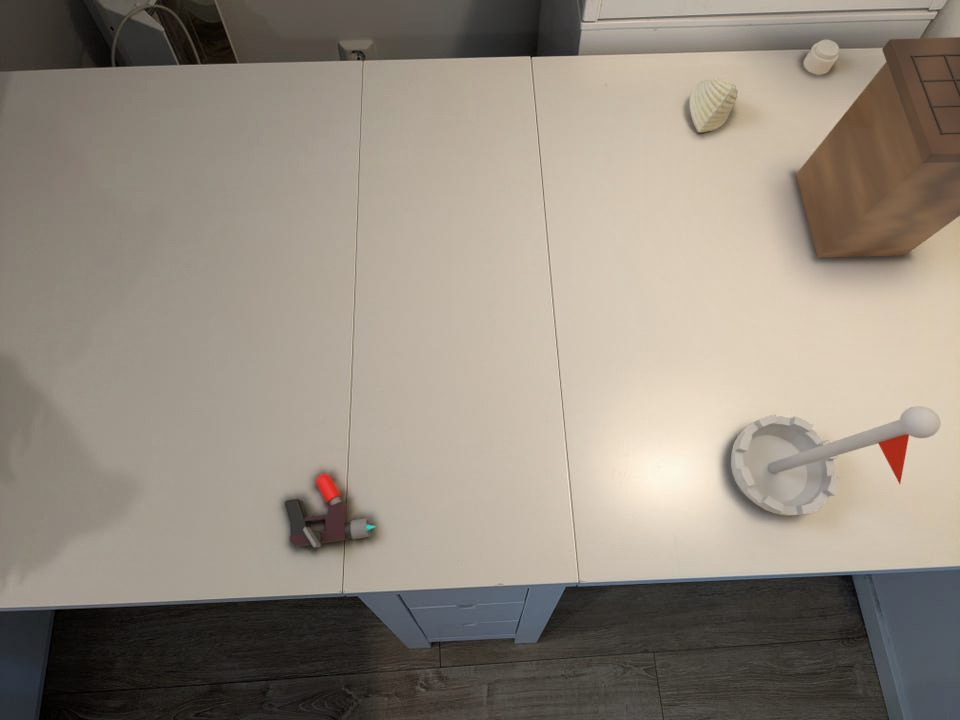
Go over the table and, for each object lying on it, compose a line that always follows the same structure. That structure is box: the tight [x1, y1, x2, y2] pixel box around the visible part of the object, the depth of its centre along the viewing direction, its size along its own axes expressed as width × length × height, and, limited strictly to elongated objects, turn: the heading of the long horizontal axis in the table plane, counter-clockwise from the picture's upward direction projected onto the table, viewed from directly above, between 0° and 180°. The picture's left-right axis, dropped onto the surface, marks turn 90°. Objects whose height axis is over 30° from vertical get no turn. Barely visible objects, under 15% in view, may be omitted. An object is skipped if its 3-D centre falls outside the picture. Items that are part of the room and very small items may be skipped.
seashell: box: [688, 78, 739, 133], centre depth 96 cm, size 8×8×8 cm
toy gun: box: [284, 473, 377, 549], centre depth 74 cm, size 10×12×5 cm
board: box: [795, 36, 960, 259], centre depth 79 cm, size 16×18×26 cm
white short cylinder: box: [802, 39, 840, 76], centre depth 100 cm, size 5×5×4 cm
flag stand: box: [730, 405, 941, 516], centre depth 63 cm, size 13×13×30 cm
